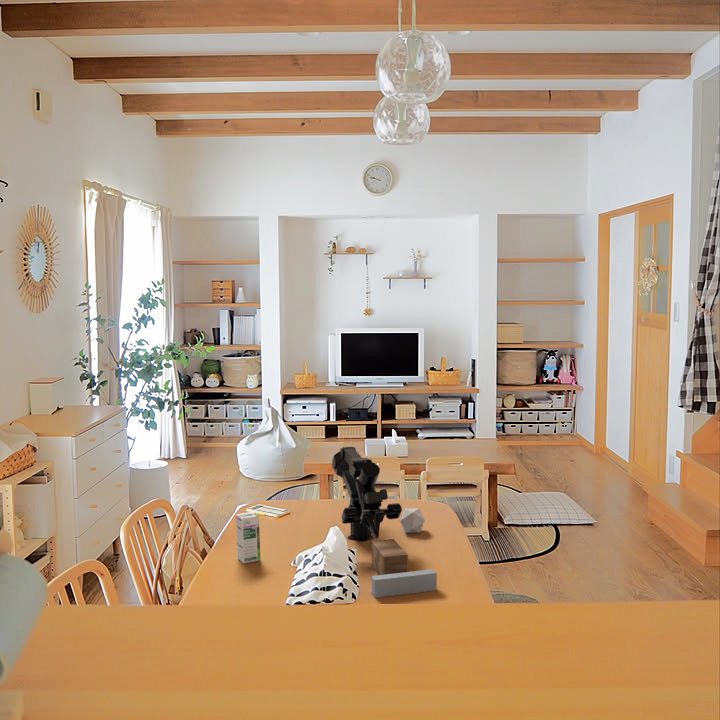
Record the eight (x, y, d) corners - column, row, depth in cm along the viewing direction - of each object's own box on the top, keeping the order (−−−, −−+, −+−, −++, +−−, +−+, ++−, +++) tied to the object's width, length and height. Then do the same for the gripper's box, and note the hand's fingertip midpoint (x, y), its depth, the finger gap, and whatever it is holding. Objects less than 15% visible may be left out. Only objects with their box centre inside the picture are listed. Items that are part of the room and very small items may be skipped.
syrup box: (243, 564, 236) (241, 518, 234) (237, 558, 241) (235, 513, 240) (260, 560, 238) (259, 515, 237) (254, 555, 244) (253, 510, 242)
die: (417, 539, 259) (431, 514, 261) (395, 525, 260) (409, 501, 262) (415, 539, 267) (428, 515, 269) (393, 527, 268) (407, 502, 270)
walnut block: (371, 566, 233) (371, 541, 232) (393, 564, 235) (393, 538, 234) (384, 583, 219) (384, 556, 219) (407, 581, 221) (407, 554, 220)
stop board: (371, 593, 212) (371, 576, 212) (433, 586, 217) (432, 569, 216) (374, 597, 209) (374, 580, 209) (436, 590, 214) (436, 573, 213)
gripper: (343, 483, 240) (352, 527, 230) (399, 478, 244) (411, 522, 235) (337, 501, 248) (346, 545, 238) (392, 496, 253) (403, 539, 243)
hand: (377, 537), depth 238 cm, fingers closed
